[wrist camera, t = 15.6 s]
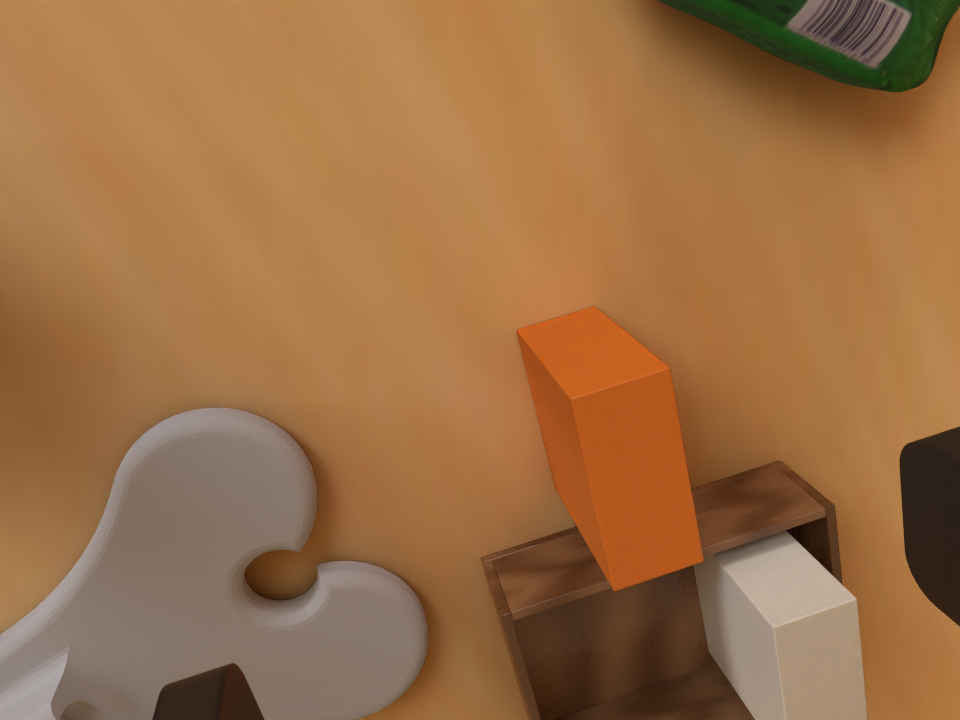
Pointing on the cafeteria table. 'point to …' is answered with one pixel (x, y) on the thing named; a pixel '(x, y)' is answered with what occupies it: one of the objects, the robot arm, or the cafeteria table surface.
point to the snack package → (839, 35)
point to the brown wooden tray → (641, 610)
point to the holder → (210, 591)
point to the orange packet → (613, 444)
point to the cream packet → (783, 631)
